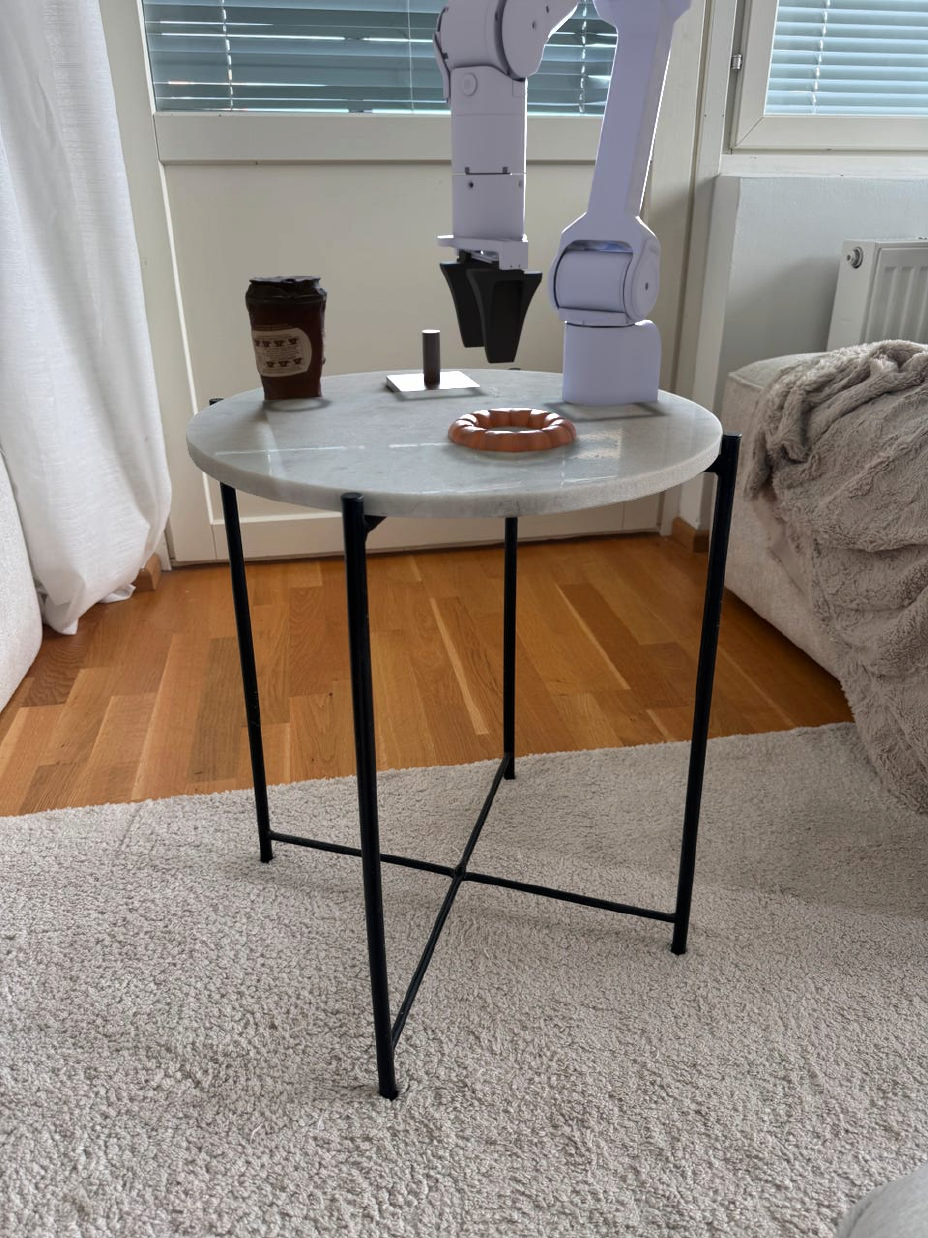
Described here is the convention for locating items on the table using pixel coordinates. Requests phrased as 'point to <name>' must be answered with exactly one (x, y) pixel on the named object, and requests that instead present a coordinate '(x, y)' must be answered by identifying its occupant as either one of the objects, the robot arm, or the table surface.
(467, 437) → the ring
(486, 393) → the table surface
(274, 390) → the coffee cup
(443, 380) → the stand
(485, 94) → the robot arm
